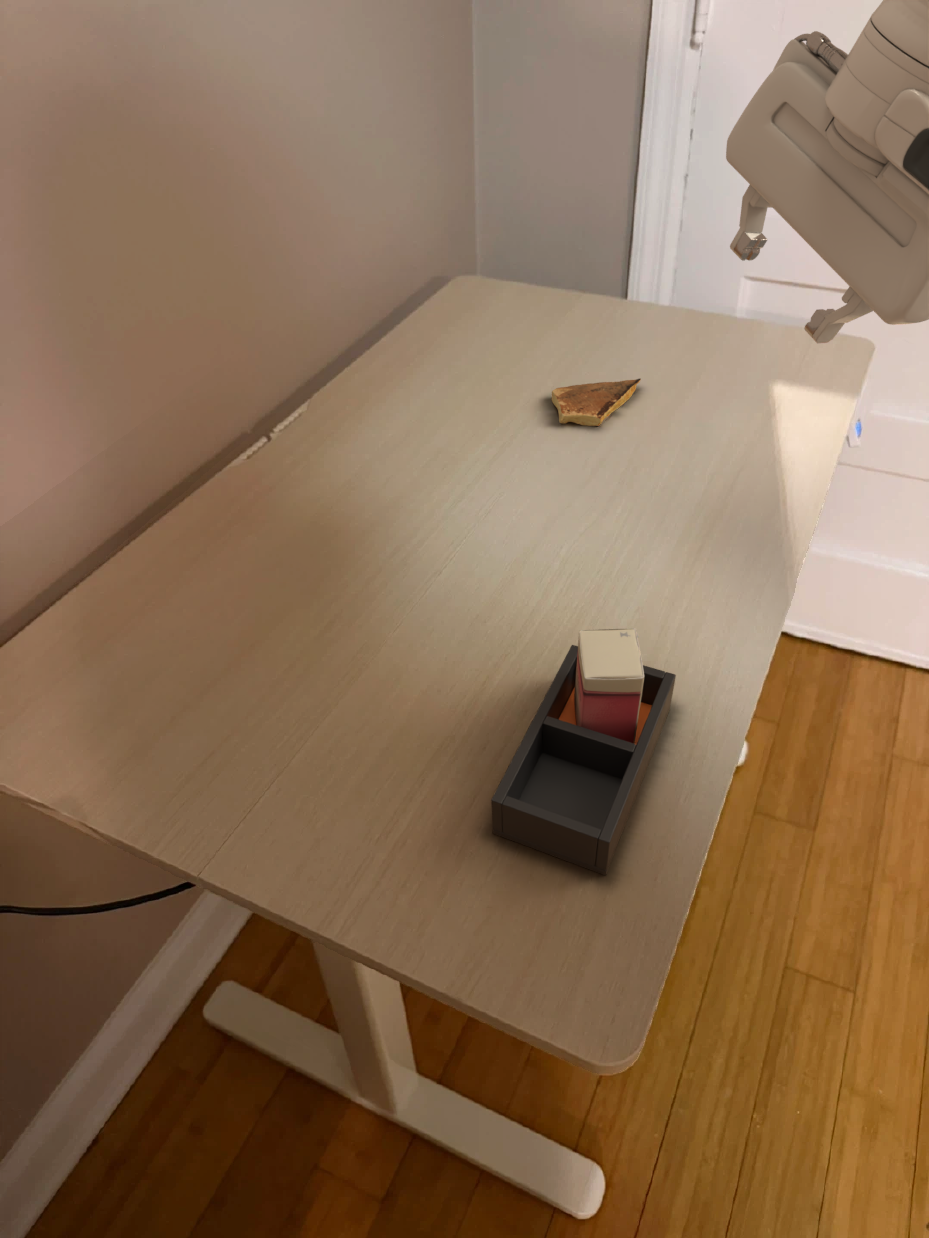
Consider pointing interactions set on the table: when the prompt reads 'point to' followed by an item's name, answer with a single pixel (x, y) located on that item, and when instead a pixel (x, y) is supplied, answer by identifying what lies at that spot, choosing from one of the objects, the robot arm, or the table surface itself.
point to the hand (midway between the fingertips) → (777, 294)
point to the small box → (609, 682)
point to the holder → (577, 774)
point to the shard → (591, 401)
